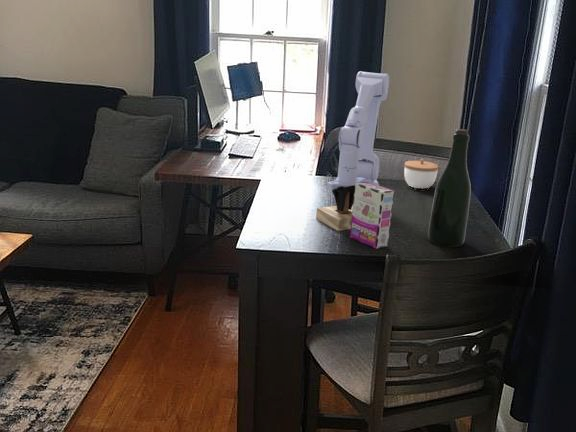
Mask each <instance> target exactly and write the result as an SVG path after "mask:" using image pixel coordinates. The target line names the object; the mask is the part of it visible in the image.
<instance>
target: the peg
mask: <svg viewBox="0 0 576 432" xmlns="http://www.w3.org/2000/svg"><path fill="white" fill-rule="evenodd" d="M349 196H350V192H348V194H347V196H346V199H345V205H344V210H343V211H339V212H338V213H340V214H342V215H343V214H348V210H349Z"/></svg>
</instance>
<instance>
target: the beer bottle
mask: <svg viewBox="0 0 576 432" xmlns="http://www.w3.org/2000/svg"><path fill="white" fill-rule="evenodd" d="M469 142H470V135H469V130H467V129H464V128H463V129H462V128H457V129H455V133H453V135H452V142H451V143H452V145H451V149H450V154H449V157H448V161H447V162H446V165H445V167H444V169H443V171H442V173H441V175H440V176H439V179H438V180H437V184H436V185H435V186H436V187H435V190H434V194H433V195H434V196H433V201H432V205H431V212H430V213H431V214H430V217H429V218H430V219H429V224H428V232H427V239H428V241H430V242H431V243H433V244H434V245H437V246H441V247H448V248H456V247H457V248H458V247H460V246H462V245H463V244H464V243H465V238H466V232H467V227H468V226H467V225H468V218H469V212H470V204H471V193H472V189H471V188H472V187H471V186H472V185H471V181H470V176H469V171H468V166H467V165H468V163H467V160H468V159H467V156H468V155H467V154H468V147H469V145H468V144H469Z"/></svg>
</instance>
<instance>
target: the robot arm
mask: <svg viewBox="0 0 576 432" xmlns="http://www.w3.org/2000/svg"><path fill="white" fill-rule="evenodd" d="M389 86H390V75H389V74H388V73H380V72H378V73H377V72H368V71H361V70H360V71H358V72H357V74H356V78H355V90H356V93H357V99H356V102H355V106H354V107H352V108H351V109H350V111H349V113H348V115H347V119H346V121H345V124H344V126H342V127H341V128H340V130H339V133H338V151H339V160H338V171H337V177H335V179H334V180H332V181H328V182H327V183H326V189H327V190H329V191H331V192H332V194H333V196H334V199H335V206H337V210H339V211H343V210H344V205H345V199H346V196H347V194H348V192H350V196H349V210H351V208H352V206H353V201H354V192H355V183H361V182H369V183H372V184H375V185H378V186H380V184H379V182H378V180H377V179H378V177H379V174H380V161H381V160H380V158H379V156H378V155H377V154H376V153H375V152H374V151H373V150H374V146H375V145H374V143H375V137H376V132H377V131H376V130H377V126H378V125H377V124H378V117H379V112H380V107H381V104H382V102H383V101H386V100H387V97H388V94H389V93H388V92H389ZM359 158H360V159H362V160H359Z"/></svg>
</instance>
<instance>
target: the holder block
mask: <svg viewBox="0 0 576 432" xmlns="http://www.w3.org/2000/svg"><path fill="white" fill-rule="evenodd" d="M352 211H353V206H352V208H351V210H348V214H343V215H342V214H340V213H338V212H339V210H337V206H336V205H332V206H324V207H323V206H322V207H317V208H316V216H315V219H316V220H317V221H320V222H322V223H323V224H325V225H327V226H329V227H330V228H332V229H334V230H336V231H337V232H339V231H345V230H351V221H352Z"/></svg>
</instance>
